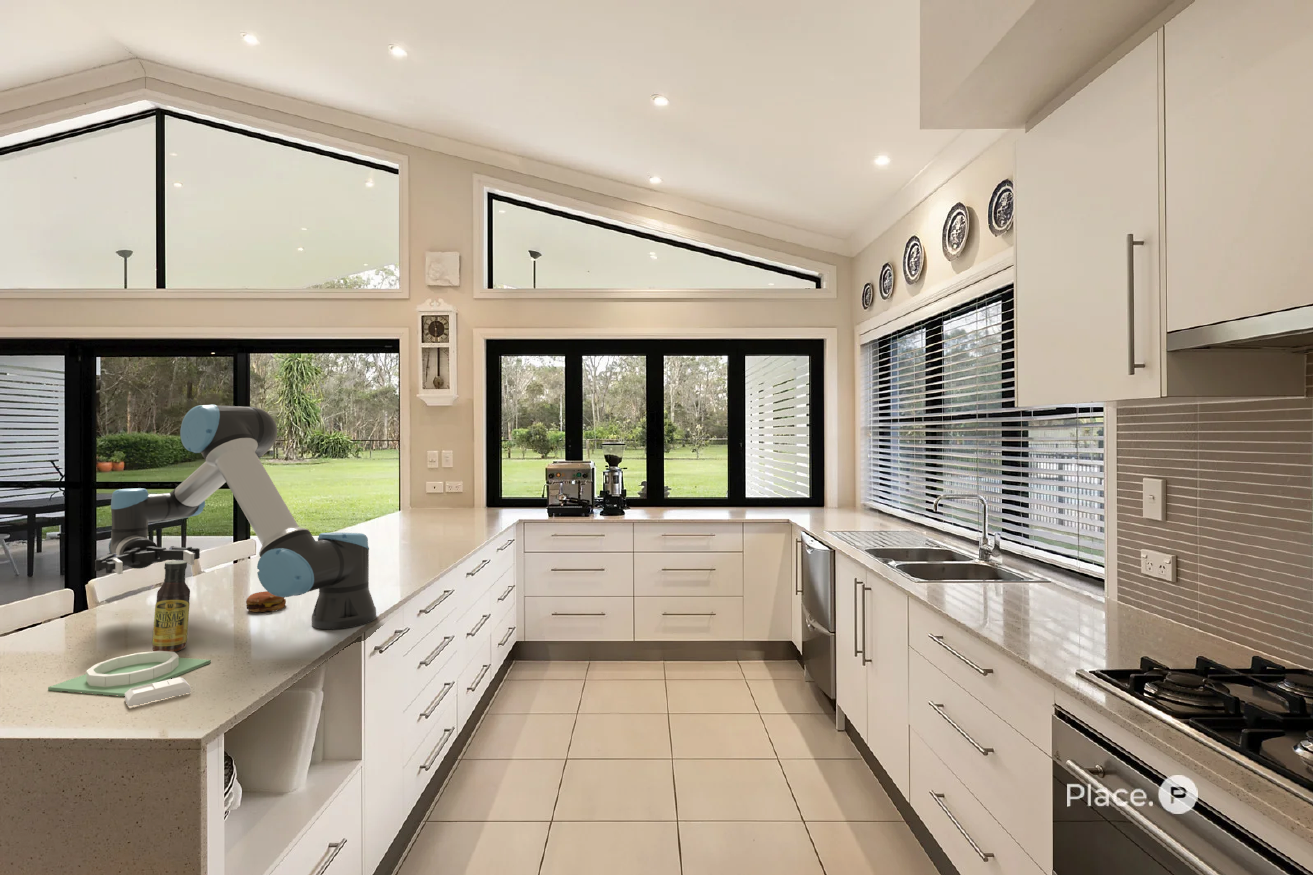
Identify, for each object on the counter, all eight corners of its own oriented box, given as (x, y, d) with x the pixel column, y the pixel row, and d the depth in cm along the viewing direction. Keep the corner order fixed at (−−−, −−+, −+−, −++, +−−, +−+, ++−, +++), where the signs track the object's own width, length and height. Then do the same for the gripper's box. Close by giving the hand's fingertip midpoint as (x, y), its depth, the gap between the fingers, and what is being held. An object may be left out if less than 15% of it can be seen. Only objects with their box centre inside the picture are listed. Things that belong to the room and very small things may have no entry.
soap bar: (190, 695, 119) (190, 681, 119) (128, 711, 113) (128, 696, 113) (184, 688, 123) (184, 674, 123) (124, 703, 116) (124, 688, 116)
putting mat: (210, 662, 136) (210, 650, 136) (125, 697, 118) (125, 683, 118) (140, 657, 139) (140, 645, 139) (48, 690, 121) (48, 676, 121)
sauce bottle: (148, 656, 139) (151, 565, 140) (155, 647, 145) (158, 560, 145) (185, 652, 142) (188, 563, 143) (190, 644, 148) (193, 558, 148)
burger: (267, 603, 184) (267, 587, 184) (293, 605, 182) (293, 589, 182) (236, 613, 175) (236, 596, 175) (263, 615, 172) (263, 598, 172)
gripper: (195, 559, 173) (219, 570, 159) (72, 574, 154) (87, 589, 141) (195, 532, 173) (219, 541, 159) (72, 543, 154) (87, 555, 141)
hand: (157, 563), depth 150 cm, fingers open, 13 cm apart
